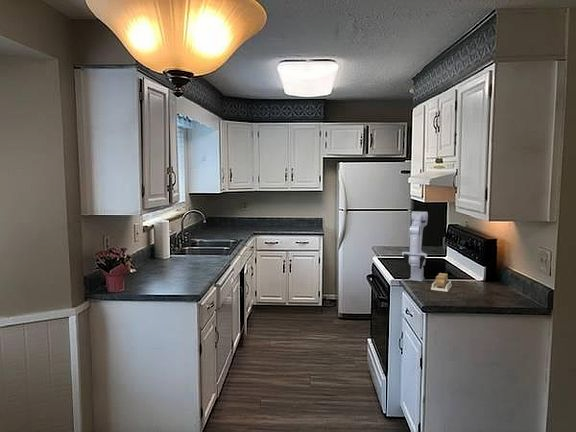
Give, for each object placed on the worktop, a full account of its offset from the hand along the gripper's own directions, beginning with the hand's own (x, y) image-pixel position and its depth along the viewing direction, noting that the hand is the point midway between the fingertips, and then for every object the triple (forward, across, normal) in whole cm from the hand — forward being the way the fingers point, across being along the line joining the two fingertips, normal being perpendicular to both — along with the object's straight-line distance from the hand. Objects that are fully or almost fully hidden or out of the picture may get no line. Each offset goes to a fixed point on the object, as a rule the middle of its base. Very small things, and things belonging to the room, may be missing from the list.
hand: (414, 268), depth 268 cm
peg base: (+10, +16, +2) cm, 19 cm away
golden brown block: (+8, +16, +1) cm, 18 cm away
